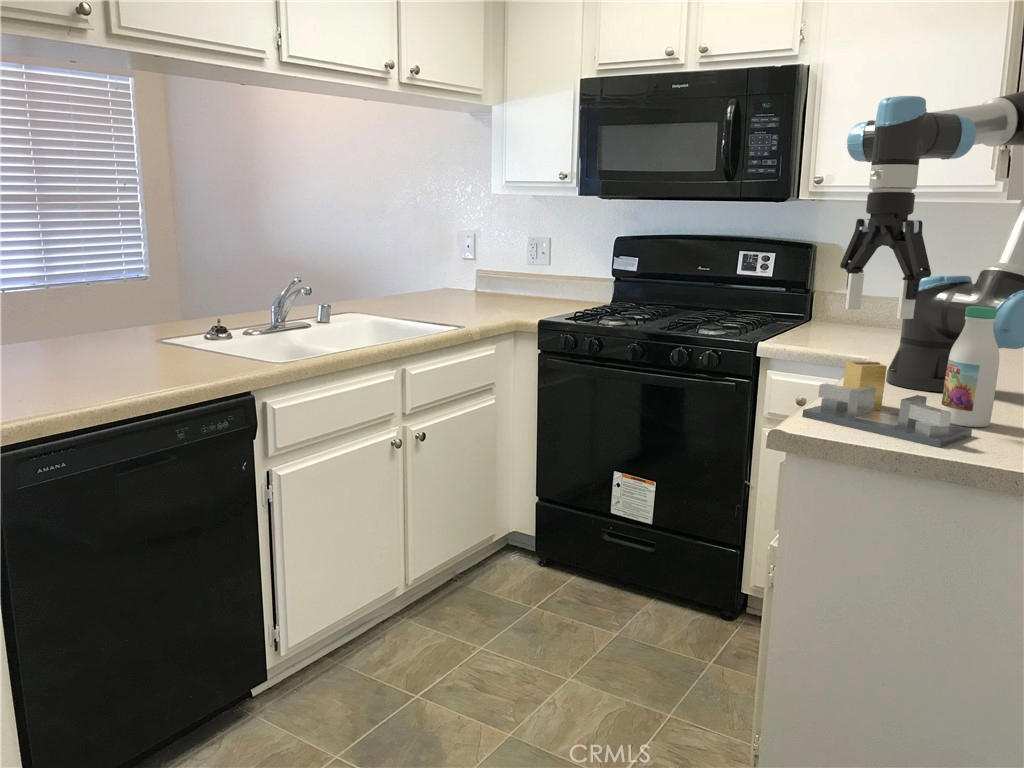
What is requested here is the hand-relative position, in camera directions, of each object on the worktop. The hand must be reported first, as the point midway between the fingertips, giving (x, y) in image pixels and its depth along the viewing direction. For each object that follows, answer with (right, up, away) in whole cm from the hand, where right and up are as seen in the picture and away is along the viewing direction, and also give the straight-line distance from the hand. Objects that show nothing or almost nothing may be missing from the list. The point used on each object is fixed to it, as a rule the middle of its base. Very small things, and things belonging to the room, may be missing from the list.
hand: (877, 313), depth 147 cm
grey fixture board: (-3, -20, -9) cm, 22 cm away
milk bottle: (+13, -19, -4) cm, 24 cm away
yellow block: (0, -17, +6) cm, 18 cm away
